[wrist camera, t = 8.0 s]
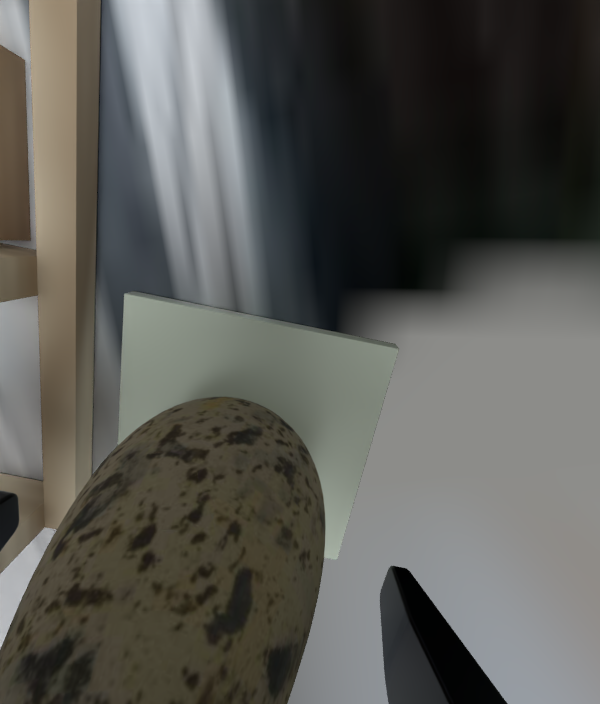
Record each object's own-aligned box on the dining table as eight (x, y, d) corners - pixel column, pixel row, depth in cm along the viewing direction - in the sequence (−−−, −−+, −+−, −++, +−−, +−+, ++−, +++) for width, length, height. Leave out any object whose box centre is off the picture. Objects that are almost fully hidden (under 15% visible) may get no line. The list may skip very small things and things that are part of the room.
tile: (122, 506, 15) (114, 517, 14) (133, 290, 12) (124, 293, 11) (336, 547, 15) (337, 560, 14) (395, 343, 12) (399, 349, 11)
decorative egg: (274, 532, 14) (183, 1172, 4) (134, 466, 13) (-337, 1043, 4) (354, 414, 12) (489, 1026, 3) (197, 331, 12) (-357, 747, 2)
